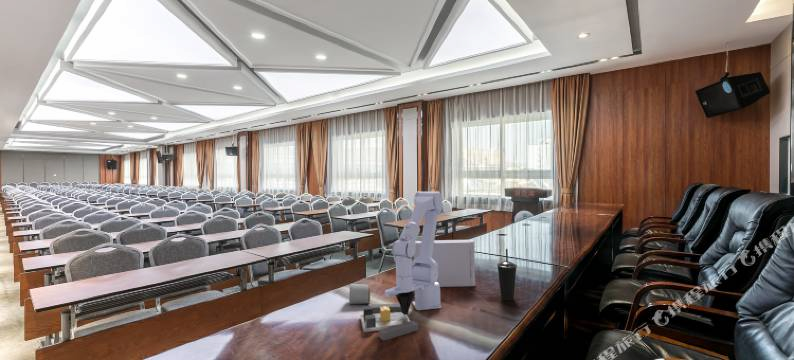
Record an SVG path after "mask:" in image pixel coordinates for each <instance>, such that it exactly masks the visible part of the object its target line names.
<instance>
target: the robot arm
mask: <svg viewBox="0 0 794 360" xmlns="http://www.w3.org/2000/svg"><path fill="white" fill-rule="evenodd" d="M443 202H444V200H443V195H442V193H441V192H440V191H419V190H418V191H416V192H415V194H414V197H413V203H414V204H413V205H414V209H413V211H412V215H411V217H410V221H408V222H406V223H404V227H403V229H402V231H401V233H400V235H399V238H398V239H397V240H395V241H394V242H393V244H392V247H391V252H392V256H393V260H394V262H395V285H396V286H393V287H391V288H389V289H385V290H384V296H385V297H386V298H391V297H392V296H395V298H396V299H397V301H398V304H400V307H401V310H402V313H403V314H404V315H407V316H408V315H409V310H410V308H411V307H410V306H411V304H412V305H413V307H414V309H415V310H416V311H424V310H425V311H426V310H433V309H434V310H436V309H441V308H442V306H441V287H440V286H439V283H438V282H436V281H437V279H438V264H437V263H436V262H435V260H434V259H433V258H432V254H433V246H434V240H436V239H435V238H436V237H435V236H436V231H437V222H438V216H439V215H441V214H442V210H443V209H442V207H443ZM423 219H424V220H423ZM422 220H423V226H422V234H421V240H420V241H421V246H420V253H419V256H418V257H417V258H416V259H414V253H415V246H416V242H415V241H417V239H418V236H419V234H420V232H421V228H420V224H421V222H422ZM421 264H424V265H430V266H424V265H421ZM413 299H414V301H413Z"/></svg>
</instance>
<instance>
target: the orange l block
mask: <svg viewBox="0 0 794 360" xmlns="http://www.w3.org/2000/svg"><path fill="white" fill-rule="evenodd" d="M380 318H381V321H388V320H390V309H389V307H386V306H383V307H380Z"/></svg>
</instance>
